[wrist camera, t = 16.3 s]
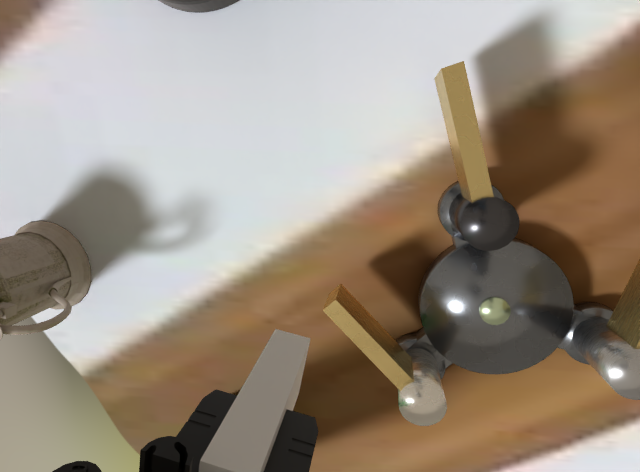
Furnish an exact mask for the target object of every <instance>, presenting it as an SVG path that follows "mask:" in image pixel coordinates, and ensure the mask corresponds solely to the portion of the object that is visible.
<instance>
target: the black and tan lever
mask: <svg viewBox="0 0 640 472" xmlns="http://www.w3.org/2000/svg"><path fill="white" fill-rule="evenodd" d="M435 83H436V87H437V91H438V96H439V100H440V104H441V108H442V113H443V117H444V121H445V125H446V130H447V134H448V138H449V142H450V147H451V151H452V155H453V159H454V164H455V168H456V172H457V176H458V180H459V185H460V189H461V193H460V194H458V195H457V196H456V197H455V198H454V199H453V201H452V203H451V205H450V208H449V217H450V220H451V222H452V224H453V225H454V226H455V228H456V229H457V230H458V231H459V232H460V233H461V234H462V236H463V237H464V238H465V239H466V240H467V241H468V242H469V244H471V245H472V246H473V247H475V248H477V249H480V250H484V251H494V250H498V249H501V248H503V247H505V246H507V245H508V244H509V243H510V242H511V241H512V240H513V239H514V238H515V236H516V234H517V232H518V229H519V217H518V214H517V212H516V210H515V208H514V207H513V206H512V205H511V204H509V203H508V202H506V201H504V200H502V199H500V198H497V197H495V196H493V191H492V187H491V182H490V177H489V173H488V168H487V164H486V159H485V155H484V150H483V146H482V141H481V137H480V132H479V128H478V123H477V119H476V114H475V110H474V105H473V101H472V96H471V92H470V87H469V82H468V78H467V73H466V69H465V64H464V61H462V62H460V63H457V64H454V65H451V66H448V67H445V68H442V69H441V70H440V71H439V73H438V74H437V76H436V77H435Z"/></svg>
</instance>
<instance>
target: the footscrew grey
mask: <svg viewBox="0 0 640 472" xmlns="http://www.w3.org/2000/svg"><path fill="white" fill-rule="evenodd" d="M572 342H573V345H574V347H575V349H576V350H577V351H578V352H579V353H580V354H581V355H582V356H583V357H584V358H585V359H586V360H587V362H588V363H589V364H590V365H591V366H592V367H593V368H594V369H595V370H596V371H597V372H598V373H599V374H600V375H601V376H602V377H603V379H604V380H605V381H606V382H607V383H608V384H609V385H610V386H611V387H612V388H613V389H614V390H615V391H616V392H617V393H618V394H619V395H621V396H623V397H625V398H628V399H634V400H640V259H639V261H638V263H637V265H636V267H635V269H634V271H633V273H632V275H631V277H630V279H629V281H628V283H627V285H626V287H625V289H624V291H623V293H622V295H621V297H620V299H619V301H618V303H617V305H616V307H615V309H614V311H613V313H612V315H611V317H610V319H606V318H600V317H595V318H590V319H587V320H585V321H583V322H581V323H580V324H579V325H578V326H577V327H576V328H575V330H574V332H573V335H572Z"/></svg>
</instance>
